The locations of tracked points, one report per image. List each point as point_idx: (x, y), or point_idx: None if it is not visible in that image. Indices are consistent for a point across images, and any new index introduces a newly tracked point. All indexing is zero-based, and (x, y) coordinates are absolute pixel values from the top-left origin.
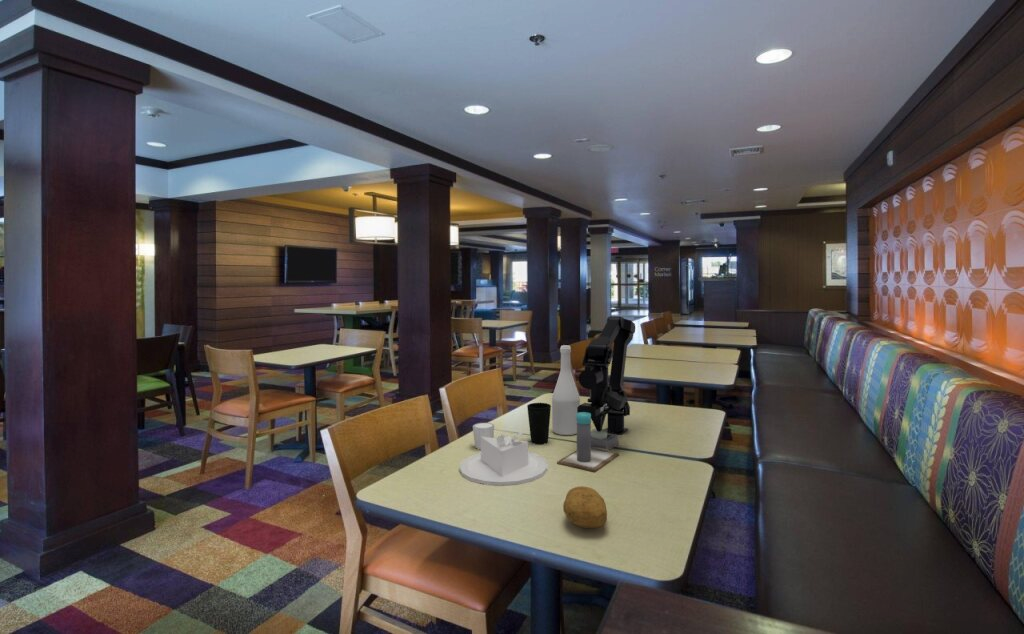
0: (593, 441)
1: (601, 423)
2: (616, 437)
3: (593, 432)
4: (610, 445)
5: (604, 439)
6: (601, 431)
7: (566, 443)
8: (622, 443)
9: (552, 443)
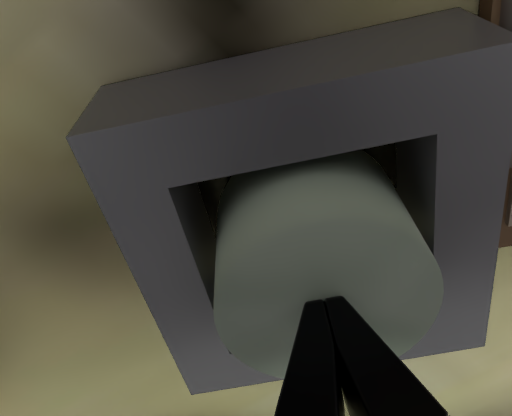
0: (496, 208)
1: (389, 396)
2: (134, 115)
3: (425, 322)
4: (335, 50)
5: (344, 167)
6: (316, 289)
7: (422, 368)
8: (30, 68)
9: (474, 409)
